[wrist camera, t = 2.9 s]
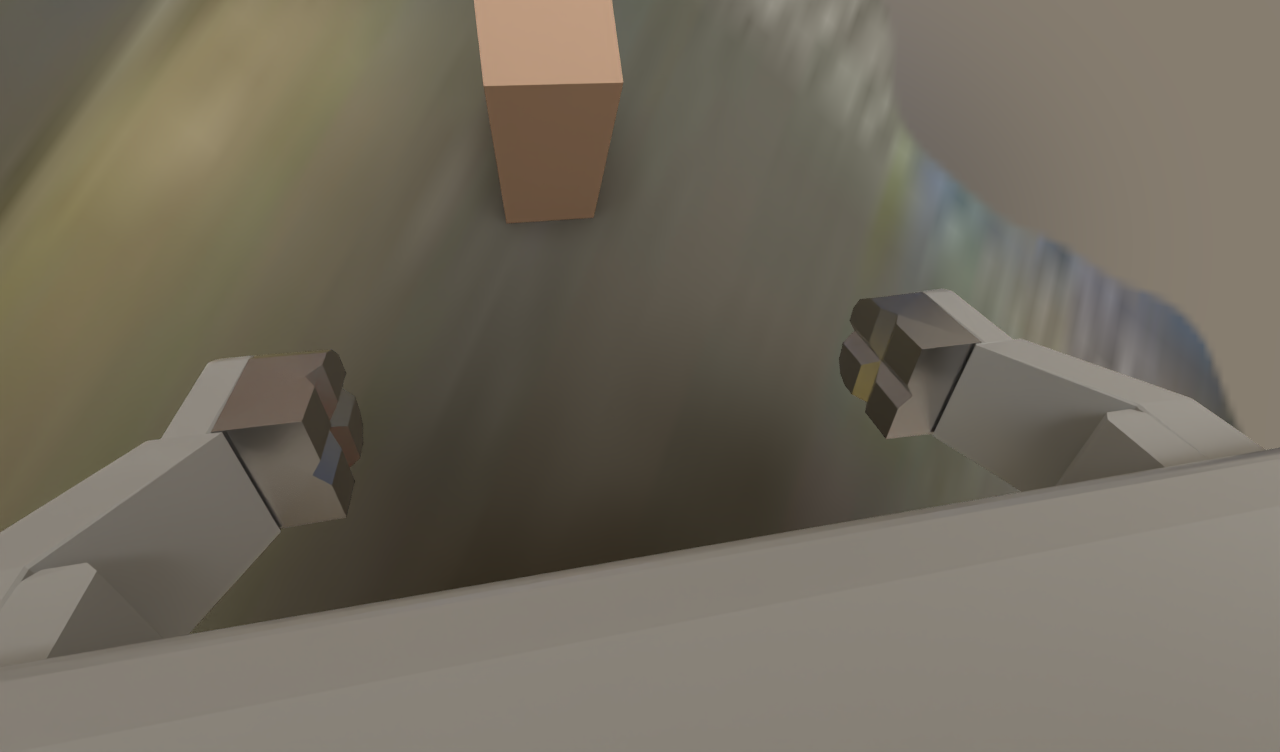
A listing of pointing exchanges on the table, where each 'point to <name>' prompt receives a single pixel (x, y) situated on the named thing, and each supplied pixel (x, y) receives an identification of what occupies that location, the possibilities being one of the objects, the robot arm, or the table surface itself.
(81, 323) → the table surface
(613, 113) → the tan rectangular block
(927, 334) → the robot arm
